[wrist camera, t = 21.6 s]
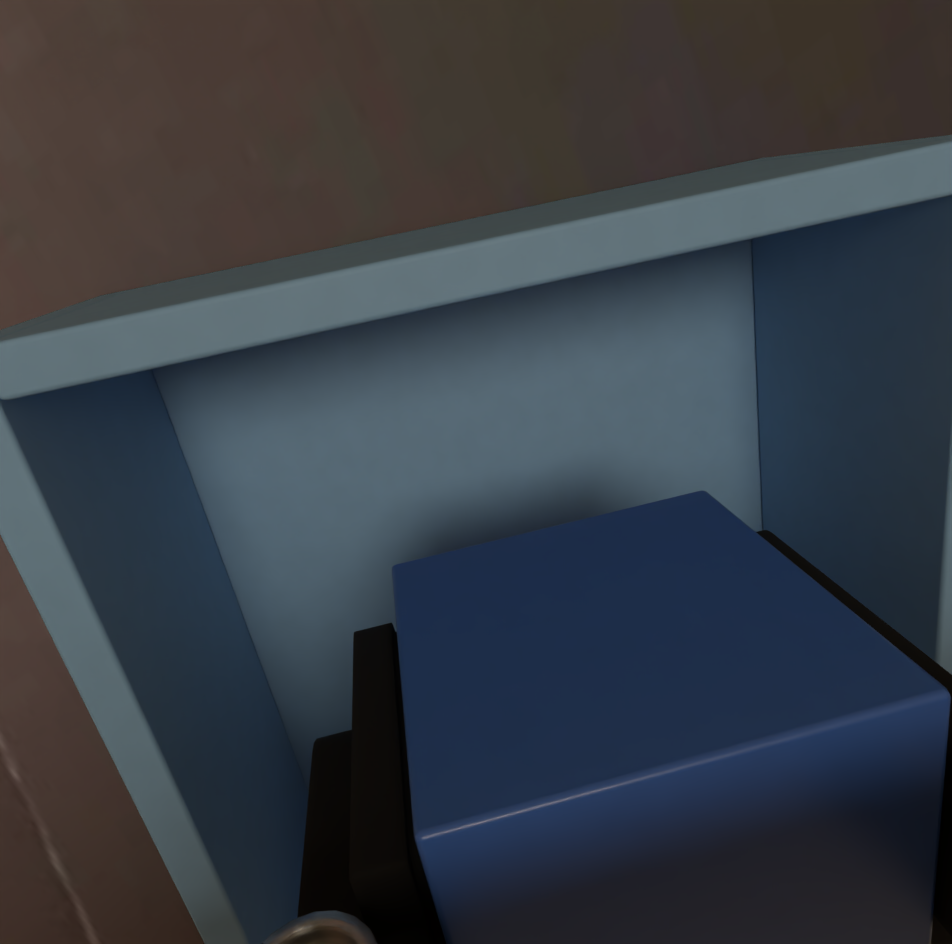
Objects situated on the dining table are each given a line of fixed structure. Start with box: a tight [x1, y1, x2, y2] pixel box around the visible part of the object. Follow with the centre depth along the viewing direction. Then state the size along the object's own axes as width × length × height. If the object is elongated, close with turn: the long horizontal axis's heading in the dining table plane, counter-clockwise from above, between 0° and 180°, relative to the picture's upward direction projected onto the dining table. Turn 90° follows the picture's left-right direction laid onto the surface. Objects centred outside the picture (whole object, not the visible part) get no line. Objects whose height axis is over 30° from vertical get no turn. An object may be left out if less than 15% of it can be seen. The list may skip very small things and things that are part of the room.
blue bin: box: [0, 135, 952, 944], centre depth 12 cm, size 12×12×6 cm
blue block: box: [392, 491, 951, 944], centre depth 8 cm, size 4×4×4 cm
